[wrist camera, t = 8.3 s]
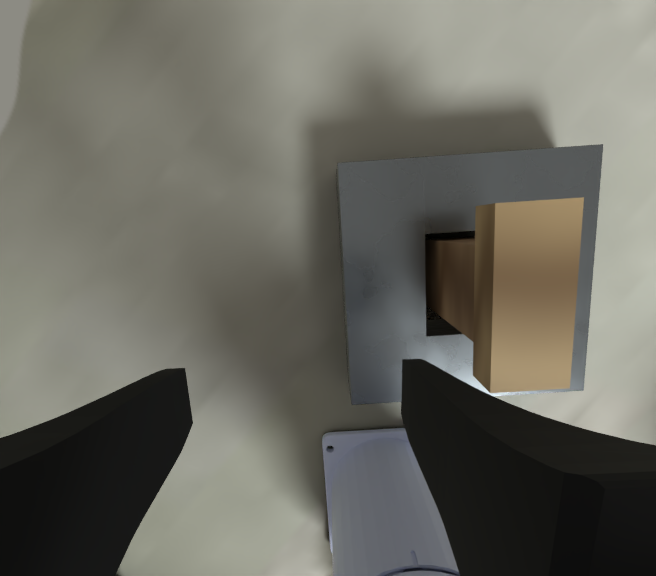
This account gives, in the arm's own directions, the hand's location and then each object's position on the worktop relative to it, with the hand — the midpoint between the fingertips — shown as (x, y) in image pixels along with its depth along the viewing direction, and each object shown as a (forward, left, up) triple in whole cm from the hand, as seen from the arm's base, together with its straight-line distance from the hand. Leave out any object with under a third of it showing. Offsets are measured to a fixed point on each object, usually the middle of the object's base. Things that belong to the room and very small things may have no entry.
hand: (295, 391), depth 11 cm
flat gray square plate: (+2, -9, -10) cm, 13 cm away
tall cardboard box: (+2, -9, -10) cm, 13 cm away
